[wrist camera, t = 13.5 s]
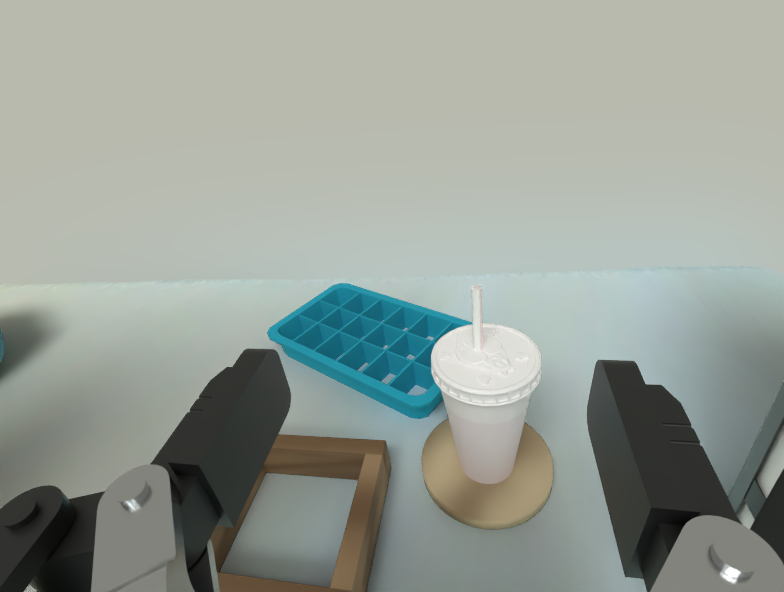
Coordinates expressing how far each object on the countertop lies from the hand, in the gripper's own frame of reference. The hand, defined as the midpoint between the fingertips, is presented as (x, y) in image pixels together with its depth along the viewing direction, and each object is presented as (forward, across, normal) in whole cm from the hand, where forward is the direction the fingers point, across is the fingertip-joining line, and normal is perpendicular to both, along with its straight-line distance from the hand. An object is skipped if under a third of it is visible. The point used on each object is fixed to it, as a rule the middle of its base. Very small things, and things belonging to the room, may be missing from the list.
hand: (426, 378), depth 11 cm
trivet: (+12, -2, +20) cm, 23 cm away
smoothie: (+12, -2, +19) cm, 22 cm away
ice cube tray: (+24, +9, +21) cm, 33 cm away
